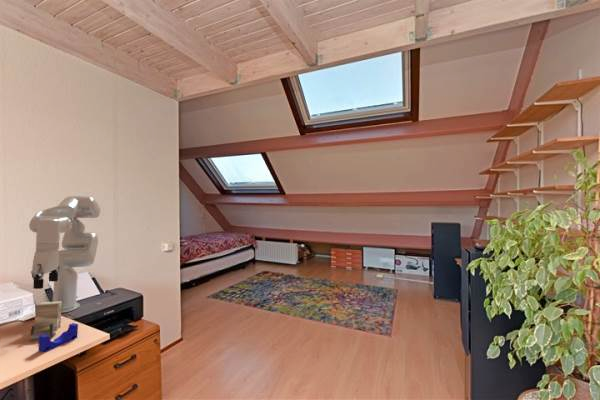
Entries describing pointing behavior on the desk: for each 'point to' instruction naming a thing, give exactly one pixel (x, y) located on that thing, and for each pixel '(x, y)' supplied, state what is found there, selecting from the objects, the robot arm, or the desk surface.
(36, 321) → the tan wooden block
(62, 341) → the blue cradle stand
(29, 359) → the desk surface
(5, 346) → the desk surface
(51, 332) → the offcut rack
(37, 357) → the desk surface
